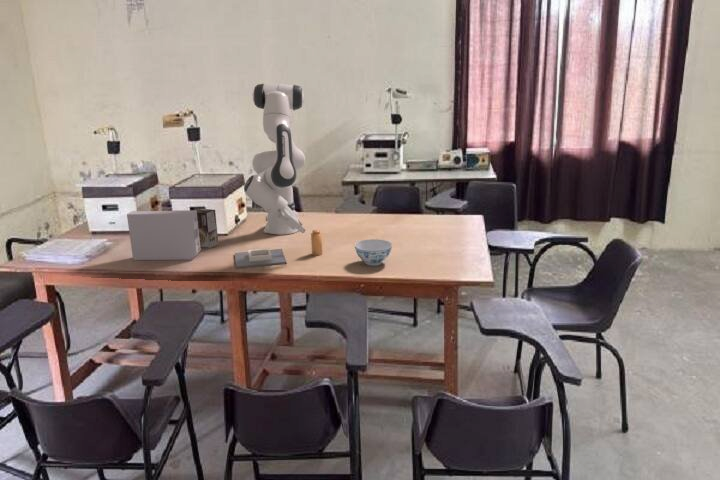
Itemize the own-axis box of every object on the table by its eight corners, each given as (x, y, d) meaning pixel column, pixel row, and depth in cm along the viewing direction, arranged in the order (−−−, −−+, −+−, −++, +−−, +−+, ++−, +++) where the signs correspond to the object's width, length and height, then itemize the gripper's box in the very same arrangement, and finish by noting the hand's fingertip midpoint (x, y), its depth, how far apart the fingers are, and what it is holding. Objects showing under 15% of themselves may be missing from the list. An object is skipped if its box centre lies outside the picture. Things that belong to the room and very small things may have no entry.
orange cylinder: (311, 252, 252) (310, 229, 249) (321, 251, 252) (320, 229, 250) (312, 256, 247) (311, 232, 244) (323, 255, 248) (322, 231, 245)
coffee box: (219, 244, 266) (215, 209, 262) (210, 248, 261) (206, 212, 256) (203, 242, 270) (199, 207, 265) (193, 246, 264) (190, 211, 260)
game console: (138, 256, 252) (132, 210, 246) (201, 255, 251) (196, 210, 246) (132, 260, 247) (126, 214, 241) (197, 259, 246) (192, 213, 240)
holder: (234, 254, 251) (234, 248, 250) (281, 250, 255) (281, 244, 255) (236, 268, 234) (235, 261, 233) (286, 263, 239) (286, 257, 238)
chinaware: (357, 256, 245) (356, 239, 243) (393, 257, 244) (393, 239, 242) (352, 268, 231) (352, 250, 229) (391, 269, 229) (391, 250, 227)
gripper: (285, 207, 231) (311, 229, 235) (280, 196, 250) (304, 217, 254) (274, 219, 231) (301, 241, 236) (270, 207, 250) (294, 228, 255)
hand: (302, 228), depth 245 cm, fingers open, 8 cm apart
